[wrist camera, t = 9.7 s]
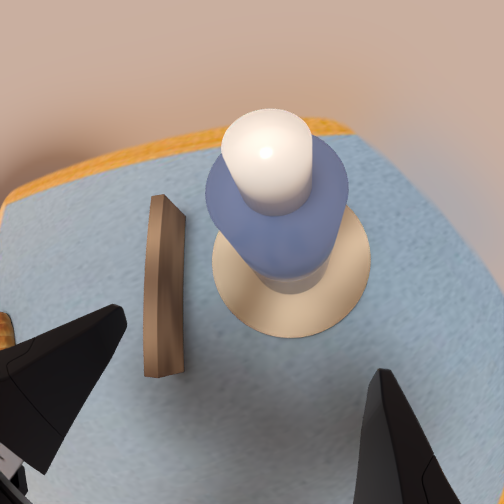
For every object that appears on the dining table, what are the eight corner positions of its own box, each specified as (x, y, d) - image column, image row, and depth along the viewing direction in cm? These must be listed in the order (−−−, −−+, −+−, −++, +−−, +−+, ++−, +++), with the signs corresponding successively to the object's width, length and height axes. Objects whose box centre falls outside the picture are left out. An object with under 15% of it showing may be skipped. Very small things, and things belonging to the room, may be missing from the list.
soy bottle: (343, 270, 19) (395, 169, 7) (274, 308, 19) (222, 263, 7) (304, 207, 20) (295, 65, 9) (239, 242, 21) (160, 129, 9)
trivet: (392, 232, 20) (394, 228, 19) (317, 367, 18) (317, 368, 17) (266, 167, 23) (265, 162, 22) (187, 283, 21) (183, 281, 20)
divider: (184, 371, 19) (158, 378, 16) (171, 370, 20) (144, 376, 16) (185, 216, 23) (164, 194, 19) (174, 217, 23) (151, 196, 19)
